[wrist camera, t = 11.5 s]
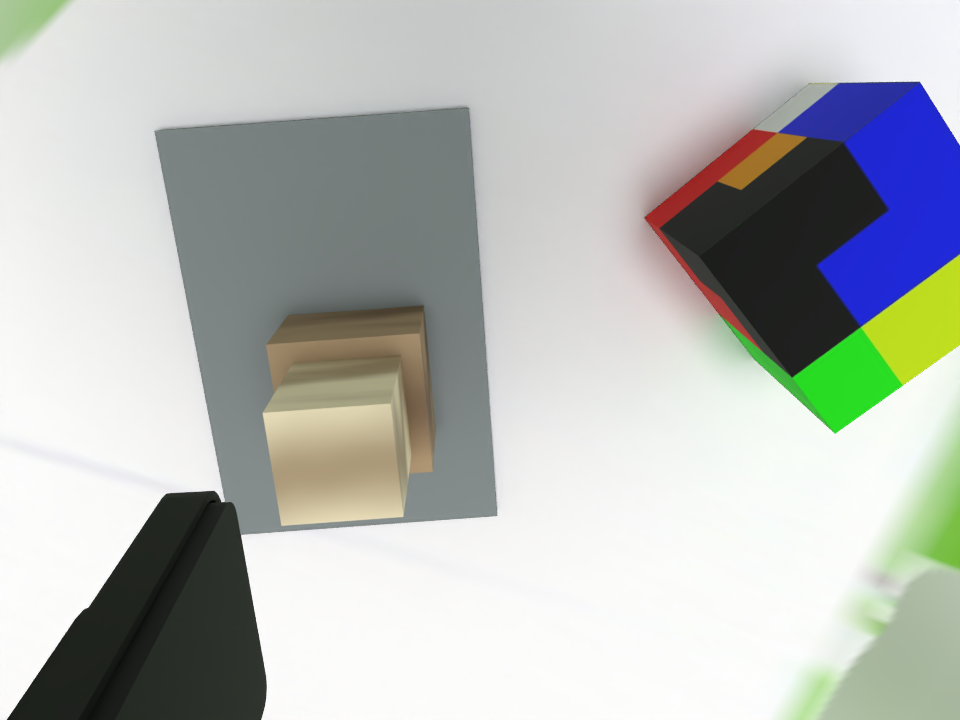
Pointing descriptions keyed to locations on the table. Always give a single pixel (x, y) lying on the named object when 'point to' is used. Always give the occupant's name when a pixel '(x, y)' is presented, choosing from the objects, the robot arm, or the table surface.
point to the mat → (333, 279)
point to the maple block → (340, 441)
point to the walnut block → (367, 339)
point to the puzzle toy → (831, 242)
